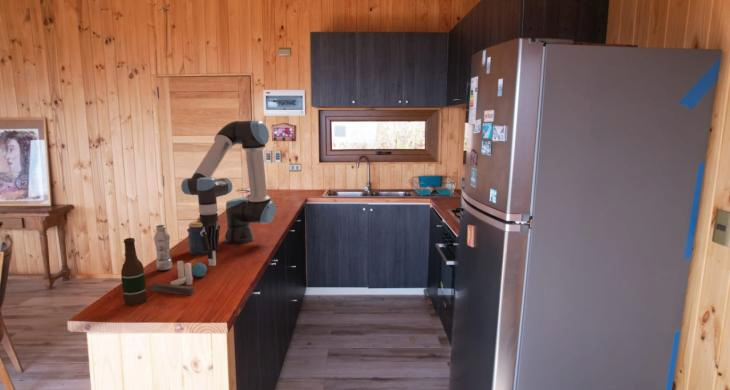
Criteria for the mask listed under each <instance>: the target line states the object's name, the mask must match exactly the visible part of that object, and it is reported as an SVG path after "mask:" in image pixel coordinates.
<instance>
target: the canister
mask: <svg viewBox="0 0 730 390" xmlns="http://www.w3.org/2000/svg"><path fill="white" fill-rule="evenodd" d="M196 219H197V220H194V221H191V222H190V223H188V225H187V226H188V228H187V229H186V231H187V234H188V235H187V243H188V252H189V254H191V255H195V256H196V255H208V252H206V251H204V249H203V245H202V241H201V237H200V235H199V232H201V231H202V225H203V224H202V223H201V222H200V216H198V217H197V218H196Z"/></svg>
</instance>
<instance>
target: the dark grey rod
mask: <svg viewBox="0 0 730 390" xmlns="http://www.w3.org/2000/svg"><path fill="white" fill-rule="evenodd" d="M150 292H153V293H163V294H164V293H166V294H176V295H184V296H192V295H194V294H195V287H194V286H189V285H178V286H177V285H171V284H165V283H154V282H153V283H151V284H150Z"/></svg>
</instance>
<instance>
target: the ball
mask: <svg viewBox="0 0 730 390" xmlns="http://www.w3.org/2000/svg"><path fill="white" fill-rule="evenodd" d="M207 269H208V268H207V266H206V264H204V263H203V262H197V263H195V264H194V265H193V266H191V272H192V276H194V277H197V278H201V277H204V276H205V275H206V274H207V271H208V270H207Z"/></svg>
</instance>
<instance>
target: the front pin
mask: <svg viewBox="0 0 730 390" xmlns="http://www.w3.org/2000/svg"><path fill="white" fill-rule="evenodd" d="M193 280H194V277H193V276H192V281H193ZM183 284H186V277H183V278H180V279H178V278H177V279H175V280H172V281H170V285H177V286H182V285H183Z"/></svg>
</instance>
